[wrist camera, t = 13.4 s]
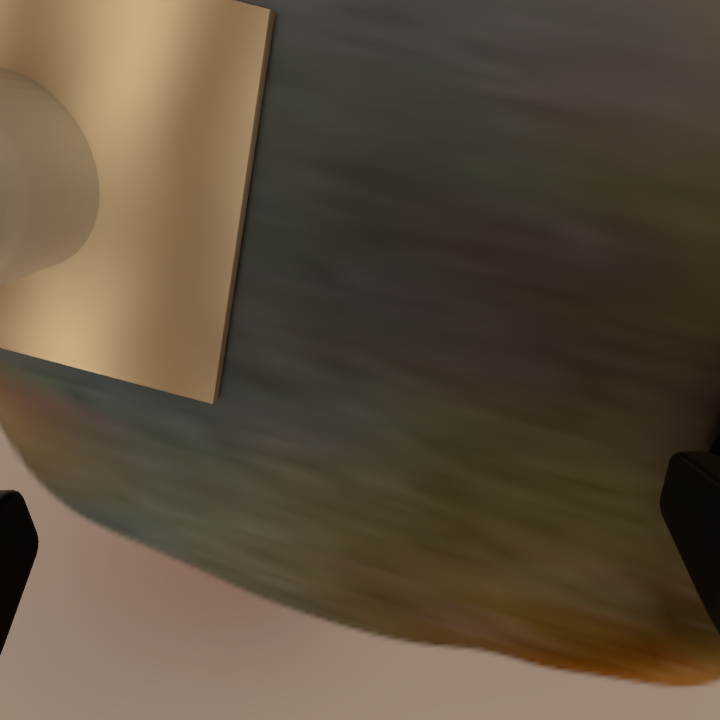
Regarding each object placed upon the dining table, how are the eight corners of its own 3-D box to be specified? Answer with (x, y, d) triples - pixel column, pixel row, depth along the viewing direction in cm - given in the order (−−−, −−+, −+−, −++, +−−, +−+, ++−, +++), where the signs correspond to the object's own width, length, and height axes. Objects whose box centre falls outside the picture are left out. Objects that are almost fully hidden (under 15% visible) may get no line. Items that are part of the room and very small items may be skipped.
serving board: (275, 13, 17) (269, 9, 16) (218, 397, 22) (212, 403, 21) (-247, -120, 17) (-270, -129, 16) (-180, 291, 22) (-196, 295, 21)
